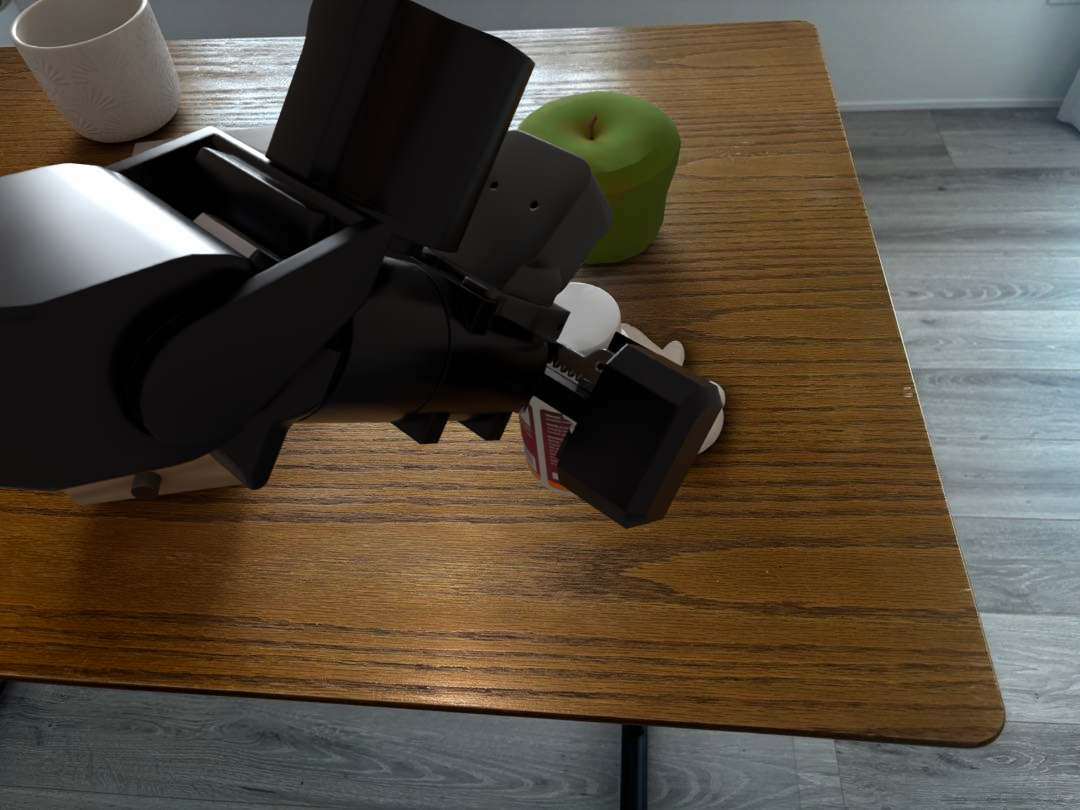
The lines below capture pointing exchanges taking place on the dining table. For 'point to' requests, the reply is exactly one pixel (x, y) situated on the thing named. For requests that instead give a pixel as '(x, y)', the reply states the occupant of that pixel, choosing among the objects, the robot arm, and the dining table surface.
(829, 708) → the dining table surface
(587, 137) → the apple
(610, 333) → the pill bottle
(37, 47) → the planter
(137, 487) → the drawer
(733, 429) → the dining table surface
